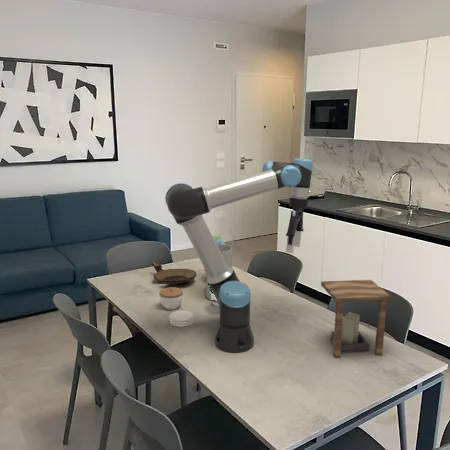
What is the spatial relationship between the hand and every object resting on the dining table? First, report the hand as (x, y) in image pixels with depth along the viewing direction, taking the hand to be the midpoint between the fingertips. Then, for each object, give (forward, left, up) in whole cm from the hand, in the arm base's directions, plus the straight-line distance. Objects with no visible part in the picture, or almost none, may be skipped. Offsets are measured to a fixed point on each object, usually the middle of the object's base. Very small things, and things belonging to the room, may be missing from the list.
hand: (292, 249), depth 184 cm
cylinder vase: (+15, +40, -33) cm, 54 cm away
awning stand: (-8, -26, -33) cm, 43 cm away
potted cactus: (+35, +50, -33) cm, 70 cm away
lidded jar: (-5, +55, -33) cm, 65 cm away
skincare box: (-8, -26, -33) cm, 43 cm away
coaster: (-17, +43, -34) cm, 57 cm away
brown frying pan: (+26, +72, -34) cm, 84 cm away
